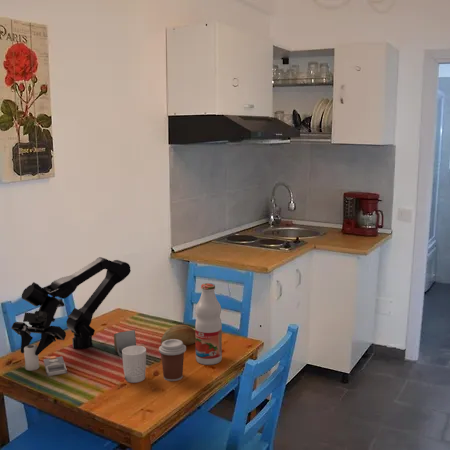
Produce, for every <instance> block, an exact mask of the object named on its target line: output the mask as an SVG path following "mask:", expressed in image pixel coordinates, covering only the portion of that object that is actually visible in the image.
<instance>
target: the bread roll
mask: <svg viewBox="0 0 450 450" xmlns="http://www.w3.org/2000/svg"><path fill="white" fill-rule="evenodd" d="M170 339H177V340H181V341H182V342H183V344H184V345H185V346H190V345H193V344H196V336H195V329H194V327H191V326H189V325H187V324H178V325H177V324H176V325H173V326H170V327H169V328H167V329H166V330H165V332H164V333H163V335H162V337H161V341H160V344H161V345H162V342H164V341H166V340H170ZM161 345H160V346H161Z"/></svg>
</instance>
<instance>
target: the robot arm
mask: <svg viewBox="0 0 450 450" xmlns="http://www.w3.org/2000/svg"><path fill="white" fill-rule="evenodd" d="M103 270H106V273H105V277H104V279H102V281H101V282H100V283H99V285H98V286H97V287H96V289H95V290H94V291H93V292H92V294H91V295H90V296H89V298H88V299H87V301H86V302H85V303H84V304H83V305H82V307H79V308H75V307H74V308H73V309H72V311H71V312H70V313H69V314H68V315H67V319H66V327H67V329H69V330H70V331H71V333H72V334H73V337H72V338H71V339H72V349H73V350H74V349H75V350H76V349H78V350H84V349H85V350H86V349H88V348H89V349H90V347H93V336H95V332H96V329H95V328H93V327H92V326H90V325H91V323H92V320H93V316H94V314H95V312H96V311H97V310H98V309H99V307H100V306H101V305H102V303H103V302H104V300H105V299H106V298H107V297H108V295H109V294H110V293H111V292H112V291H113V289H114V287H116V285H118V284H119V283H121V282H122V281H124V280H125V279H126V278H127V277H128V276H129V275H130V274H131V265H130V264H129V262H126V261H122V260H119V259H115V260H109V259H107V258H104V257H101V256H99V257H97V258H96V259H95V260H93V261H92V262H89V263H88V264H86V265H85V266H82V268H80V269H79V270H77V271H75V272H74V273H72V274H70V275H66V276H62V277H60V278H57V279H55V280H53V281H52V282H51V283H50V284H48V285H45V286H44V287H43V286H42V287H41V286H40V284H38V283H36V282H34V281H33V282H32V283H31V284H29V285H28V286H27V287H26V288H24V290H23V291H22V293H21V299H22V300H24V301H26V302H28V303H29V304H30V305H32V306H34V307H39V309H38V310H36V311H34V312H26V311H25V312H24V314H23V321H14V322H13V324H12V325H11V327H10V329H11V330H12V331H14V332H15V333H16V334H18V335H19V336H20V337H21V339H20V340H21V341H20V342H21V343H20V344H21V345H20V353H21V354H22V355H23V354H24V347H25V346H28V345H31V344H30V343H31V342H32V340H33V339H34V338H33V336H32V335H31V334H32V333H33V334H39V335H40V340H39V343H38V345H37V346H38V347H37V350H36V353H35V355H38V356H39V355H40V354H41V353H43V351H44V350H45V349H46V348H48V346H50V345H51V344H52V343H54V342H56V341H65V339H66V337H67V335H66V334H67V333H66V331H65V330H64V329H63V328H62V327H60V326H58V325H57V326H56V325H52V323H53V322H55V320H56V318H55V315H56V313H57V310H58V308H60V307H61V308H62V307H65V306H66V305H65V303H64V299H66V298H69V297H70V296H71V295H72V294H73V293H74V292H76V289H77V287H79V286H80V285H81V284H83V283H84V282H86V281H88V280H89V279H91V278H92V277H94V276H96V275H97V274H99V273H100V272H102V271H103ZM58 298H59V299H58ZM27 323H28V324H27Z"/></svg>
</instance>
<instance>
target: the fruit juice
mask: <svg viewBox="0 0 450 450" xmlns="http://www.w3.org/2000/svg"><path fill="white" fill-rule="evenodd" d="M200 288H201V295H200V297H199V300H198V302H197V303H196V305H195V314H196V319H195V326H194V328H195V329H194V330H195V336H196V343H195V361H196V362H197V363H198V364H201V365H204V366H211V365H212V366H213V365H216V364H219V363H220V362H221V361H222V359H223V358H222V357H223V354H222V353H223V348H222V347H223V342H222V341H223V339H222V337H223V335H222V334H223V333H222V331H223V330H222V329H223V327H222V326H223V325H222V319H221V313H222V307H221V304H220V302H219V301H218V298H217V296H216V293H215V291H216V284H214V283H211V282H210V283H209V282H207V283H202V284H201V285H200Z"/></svg>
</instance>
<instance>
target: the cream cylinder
mask: <svg viewBox="0 0 450 450" xmlns="http://www.w3.org/2000/svg"><path fill="white" fill-rule="evenodd" d="M37 347H38V345H37V344H29V345H28V346H25V347H24V353H23V354H24V355H23V356H24V364H25V365H24V366H25V370H26V371H32V372H33V371H37V370H38V369H40V359H39V355H35V353H36V350H37Z"/></svg>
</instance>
